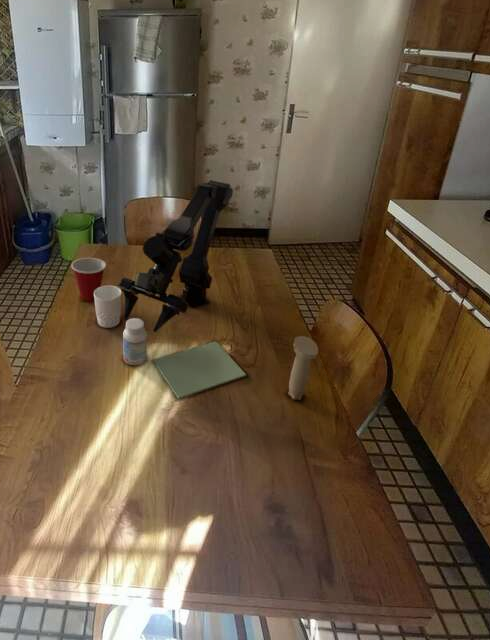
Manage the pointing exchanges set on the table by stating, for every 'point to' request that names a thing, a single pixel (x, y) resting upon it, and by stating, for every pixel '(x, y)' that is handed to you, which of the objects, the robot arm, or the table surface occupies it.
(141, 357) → the pill bottle
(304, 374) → the handle
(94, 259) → the plastic cup
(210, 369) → the mat
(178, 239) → the robot arm
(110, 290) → the white cup
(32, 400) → the table surface
